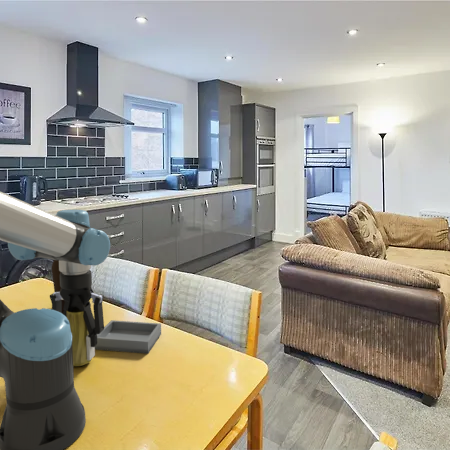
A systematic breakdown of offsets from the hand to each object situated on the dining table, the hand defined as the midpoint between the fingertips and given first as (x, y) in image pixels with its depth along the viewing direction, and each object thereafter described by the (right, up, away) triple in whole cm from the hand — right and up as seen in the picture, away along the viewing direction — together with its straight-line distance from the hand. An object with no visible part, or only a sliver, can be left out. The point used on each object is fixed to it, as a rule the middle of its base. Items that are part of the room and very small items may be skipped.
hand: (79, 356), depth 97 cm
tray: (+10, 0, +12) cm, 16 cm away
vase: (0, -1, 0) cm, 1 cm away
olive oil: (-18, +4, +38) cm, 42 cm away
